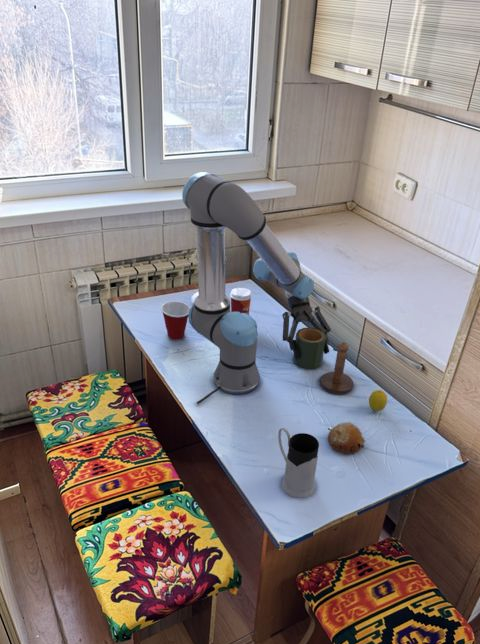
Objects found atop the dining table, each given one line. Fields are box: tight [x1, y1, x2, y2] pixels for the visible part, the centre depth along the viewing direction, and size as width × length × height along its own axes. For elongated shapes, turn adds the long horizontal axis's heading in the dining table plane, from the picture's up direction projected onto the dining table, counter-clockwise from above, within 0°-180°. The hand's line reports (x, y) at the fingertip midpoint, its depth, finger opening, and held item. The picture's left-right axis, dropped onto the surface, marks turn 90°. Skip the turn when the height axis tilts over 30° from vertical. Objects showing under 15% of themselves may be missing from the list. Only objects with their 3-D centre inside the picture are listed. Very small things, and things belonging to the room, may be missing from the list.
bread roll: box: [327, 421, 366, 455], centre depth 163 cm, size 10×10×8 cm
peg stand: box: [319, 341, 354, 396], centre depth 184 cm, size 11×11×17 cm
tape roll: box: [292, 327, 326, 370], centre depth 196 cm, size 10×10×11 cm
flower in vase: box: [188, 248, 199, 304], centre depth 222 cm, size 13×11×25 cm
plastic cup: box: [160, 300, 191, 341], centre depth 204 cm, size 11×11×12 cm
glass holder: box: [277, 427, 320, 499], centre depth 147 cm, size 9×14×15 cm, turn 36°
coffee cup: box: [229, 287, 253, 316], centre depth 212 cm, size 8×8×15 cm
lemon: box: [368, 389, 388, 412], centre depth 176 cm, size 6×6×8 cm
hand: (312, 355), depth 195 cm, fingers open, 11 cm apart
